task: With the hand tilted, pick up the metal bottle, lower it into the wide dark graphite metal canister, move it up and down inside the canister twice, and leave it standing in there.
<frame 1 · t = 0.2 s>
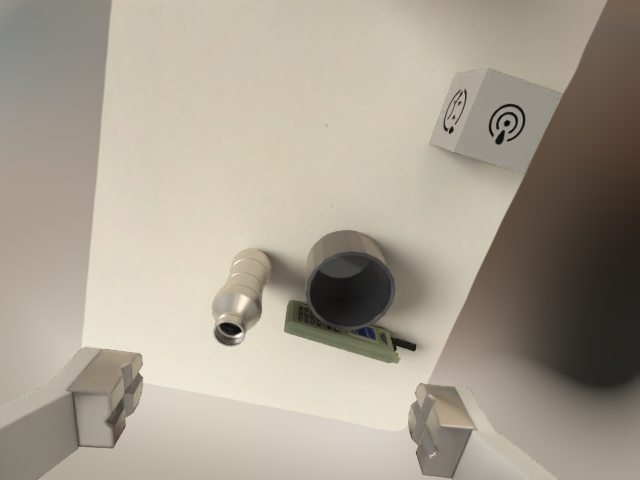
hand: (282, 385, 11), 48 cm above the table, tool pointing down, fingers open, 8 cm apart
icon cube: (472, 119, 54), on the table
metal bottle: (253, 262, 61), on the table
handheld radio: (352, 324, 67), on the table
canister: (344, 266, 62), on the table
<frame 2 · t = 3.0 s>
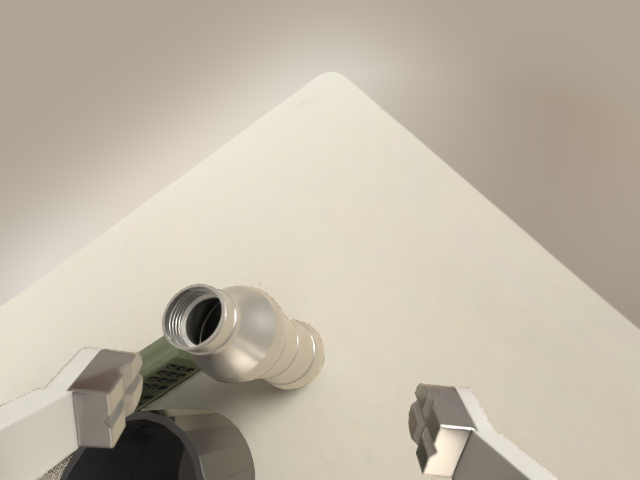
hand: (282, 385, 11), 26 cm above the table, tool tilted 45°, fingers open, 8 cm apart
metal bottle: (298, 356, 37), on the table
handheld radio: (115, 413, 40), on the table
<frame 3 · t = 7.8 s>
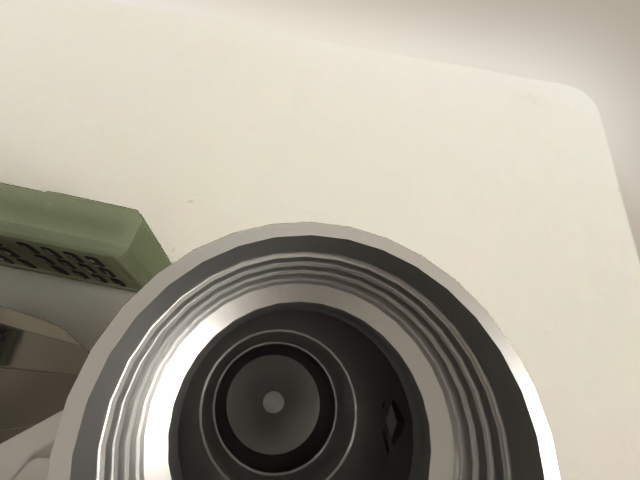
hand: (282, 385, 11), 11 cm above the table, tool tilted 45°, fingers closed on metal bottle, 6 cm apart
metal bottle: (274, 402, 21), on the table, touching gripper
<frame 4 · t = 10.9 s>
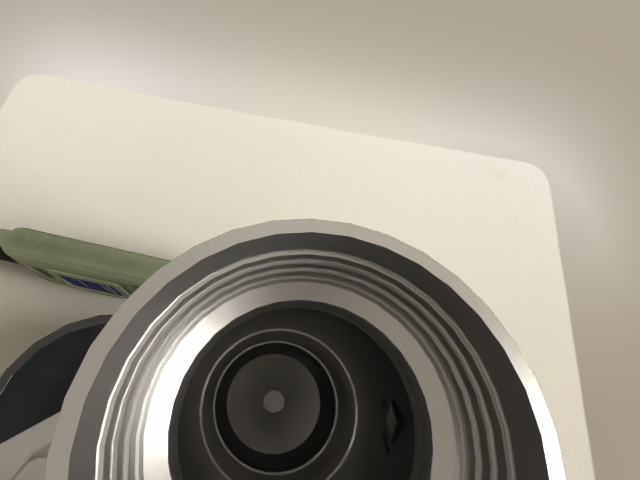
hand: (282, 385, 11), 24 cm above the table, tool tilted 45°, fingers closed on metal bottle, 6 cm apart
metal bottle: (274, 401, 21), point 13 cm above the table, touching gripper
handheld radio: (124, 282, 35), on the table
canister: (140, 414, 31), on the table
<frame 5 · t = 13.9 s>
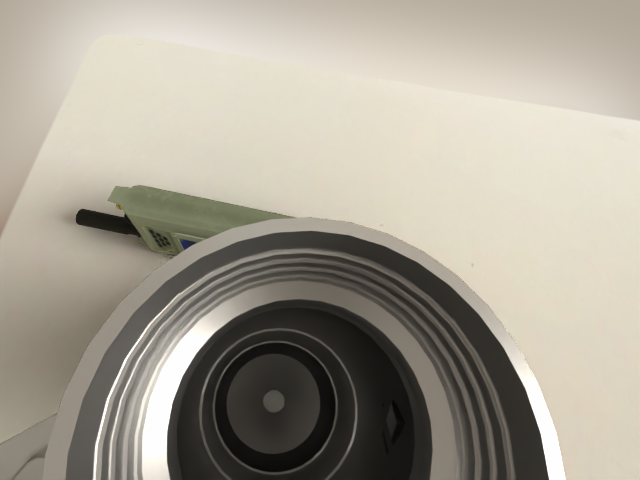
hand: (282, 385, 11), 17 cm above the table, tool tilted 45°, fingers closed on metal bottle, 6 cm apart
metal bottle: (274, 401, 21), point 6 cm above the table, touching gripper
handheld radio: (236, 254, 31), on the table
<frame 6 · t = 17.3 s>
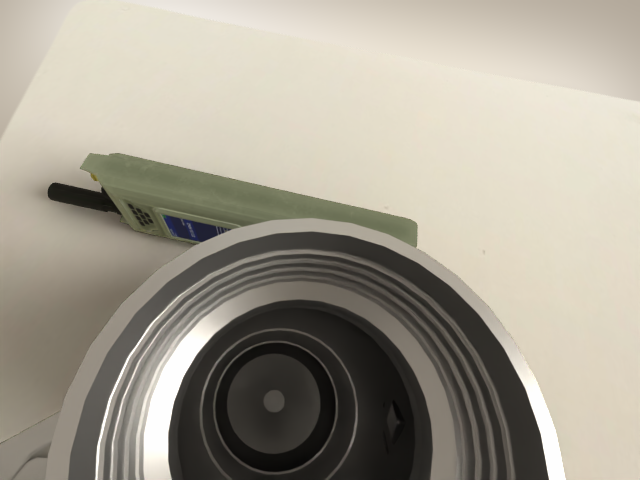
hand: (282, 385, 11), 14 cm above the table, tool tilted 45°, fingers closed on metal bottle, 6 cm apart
metal bottle: (274, 401, 21), point 3 cm above the table, touching gripper
handheld radio: (227, 236, 28), on the table
when the fingers open (12 cm above the table, at t = 20.0 s): metal bottle stays where it is, resting on canister.
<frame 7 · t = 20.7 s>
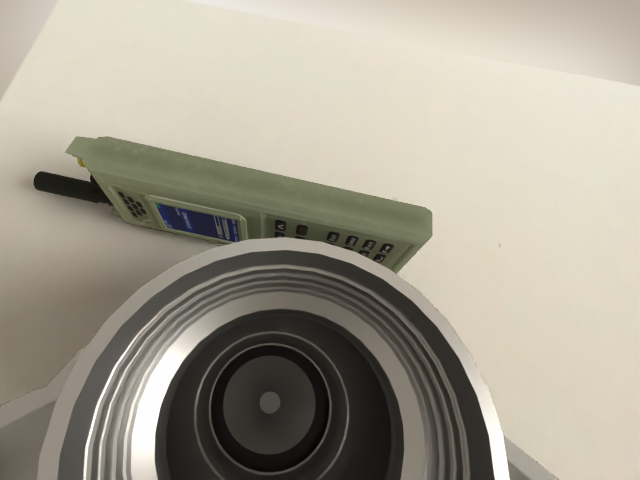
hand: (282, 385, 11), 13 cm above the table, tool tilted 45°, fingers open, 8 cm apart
metal bottle: (270, 402, 21), point 1 cm above the table, touching canister
handheld radio: (226, 229, 26), on the table
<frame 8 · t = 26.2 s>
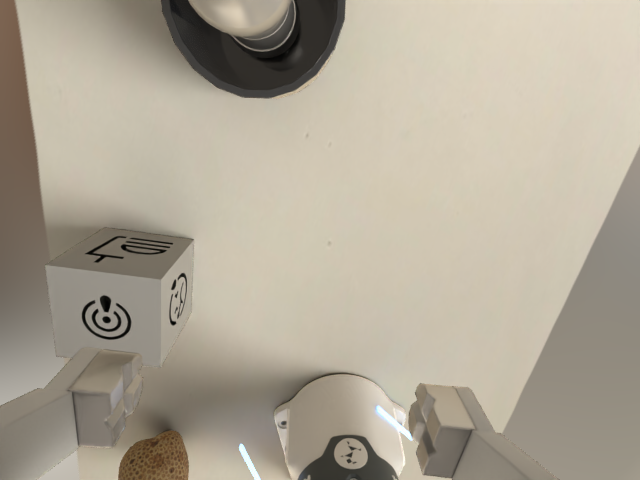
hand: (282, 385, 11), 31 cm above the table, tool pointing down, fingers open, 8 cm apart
icon cube: (150, 271, 43), on the table
natural sponge: (168, 436, 53), on the table
metal bottle: (265, 22, 34), point 1 cm above the table, touching canister
canister: (267, 23, 34), on the table
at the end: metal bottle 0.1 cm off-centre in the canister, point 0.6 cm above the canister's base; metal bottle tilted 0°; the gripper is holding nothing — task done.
